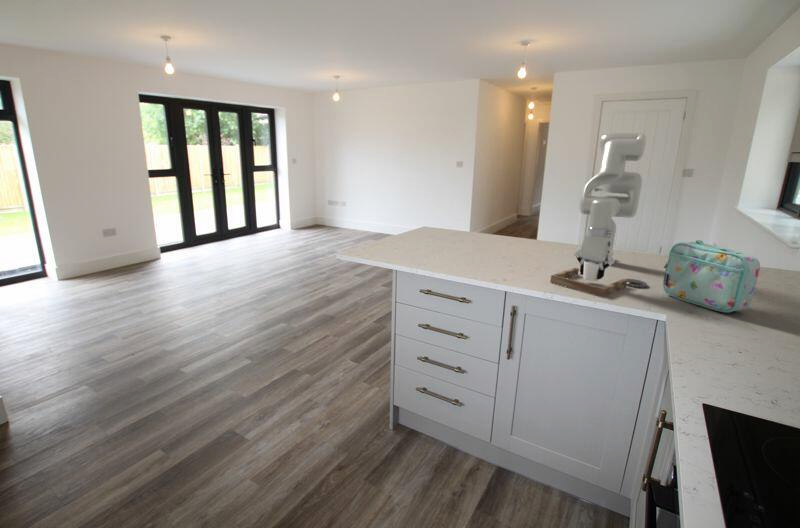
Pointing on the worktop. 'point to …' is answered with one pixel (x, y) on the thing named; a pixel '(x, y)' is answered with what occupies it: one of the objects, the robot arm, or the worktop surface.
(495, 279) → the worktop surface
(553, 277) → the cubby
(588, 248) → the robot arm
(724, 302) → the lunch box
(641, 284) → the dark grey round dish
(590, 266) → the white cup
